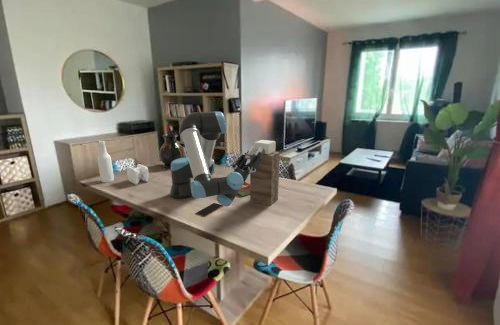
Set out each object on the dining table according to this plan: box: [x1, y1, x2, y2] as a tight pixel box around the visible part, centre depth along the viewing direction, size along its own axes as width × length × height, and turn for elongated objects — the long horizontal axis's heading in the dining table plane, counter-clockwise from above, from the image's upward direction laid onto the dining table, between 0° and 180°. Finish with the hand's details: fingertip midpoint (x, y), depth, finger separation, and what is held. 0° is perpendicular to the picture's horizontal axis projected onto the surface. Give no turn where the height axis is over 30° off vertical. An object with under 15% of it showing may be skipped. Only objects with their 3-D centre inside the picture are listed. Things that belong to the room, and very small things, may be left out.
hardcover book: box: [237, 181, 250, 197], centre depth 179 cm, size 12×21×4 cm, turn 37°
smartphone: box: [194, 202, 224, 218], centre depth 149 cm, size 8×17×1 cm, turn 147°
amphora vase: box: [158, 133, 185, 169], centre depth 230 cm, size 22×22×28 cm
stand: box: [249, 151, 280, 206], centre depth 158 cm, size 10×14×30 cm
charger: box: [244, 139, 277, 160], centre depth 146 cm, size 25×9×6 cm, turn 150°
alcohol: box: [96, 140, 115, 184], centre depth 192 cm, size 9×9×30 cm
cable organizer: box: [126, 163, 150, 186], centre depth 194 cm, size 15×11×12 cm
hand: (257, 148), depth 145 cm, fingers closed on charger, 4 cm apart
